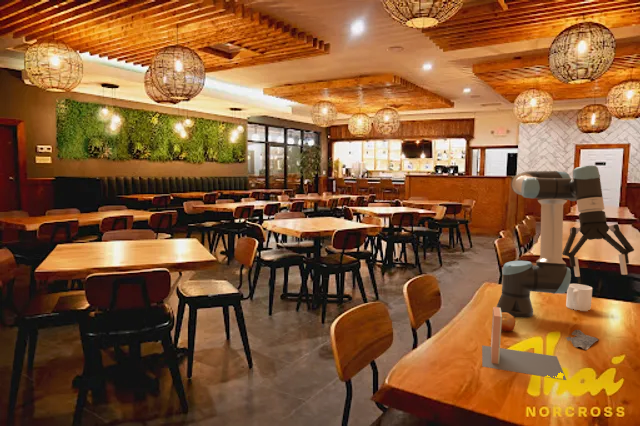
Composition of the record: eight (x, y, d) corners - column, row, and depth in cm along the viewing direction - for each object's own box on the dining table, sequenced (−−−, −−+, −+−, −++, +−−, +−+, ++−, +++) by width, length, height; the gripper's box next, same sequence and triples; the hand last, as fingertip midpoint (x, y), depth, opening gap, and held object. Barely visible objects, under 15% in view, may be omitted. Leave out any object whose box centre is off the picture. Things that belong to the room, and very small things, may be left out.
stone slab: (574, 328, 171) (602, 334, 164) (574, 333, 172) (602, 339, 164) (557, 341, 159) (587, 348, 152) (557, 346, 160) (587, 353, 152)
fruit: (513, 323, 175) (515, 310, 171) (514, 338, 169) (516, 325, 165) (492, 320, 178) (493, 307, 173) (492, 335, 172) (494, 322, 167)
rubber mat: (482, 367, 138) (482, 366, 138) (482, 346, 155) (482, 345, 155) (566, 381, 130) (566, 380, 129) (556, 357, 146) (556, 356, 146)
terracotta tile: (491, 362, 141) (493, 315, 139) (490, 350, 150) (493, 306, 148) (499, 363, 140) (501, 316, 138) (498, 352, 149) (500, 307, 147)
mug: (569, 303, 208) (570, 282, 207) (593, 308, 201) (594, 286, 200) (561, 308, 199) (563, 287, 198) (586, 314, 192) (587, 291, 191)
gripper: (553, 213, 142) (561, 277, 139) (639, 206, 136) (650, 273, 133) (547, 216, 149) (555, 277, 146) (629, 210, 143) (639, 273, 140)
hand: (600, 275), depth 139 cm, fingers open, 13 cm apart
